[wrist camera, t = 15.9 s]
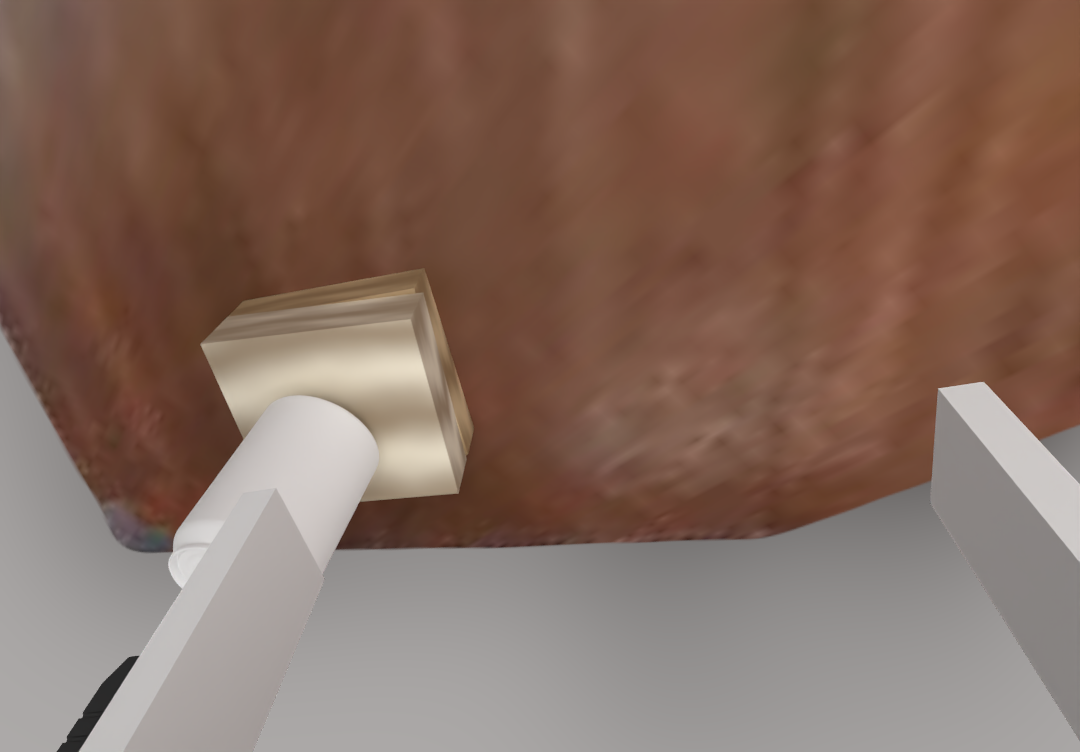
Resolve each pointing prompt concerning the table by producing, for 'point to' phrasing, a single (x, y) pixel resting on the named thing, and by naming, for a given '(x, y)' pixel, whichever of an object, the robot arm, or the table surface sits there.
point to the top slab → (351, 382)
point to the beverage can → (288, 478)
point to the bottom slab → (370, 290)
